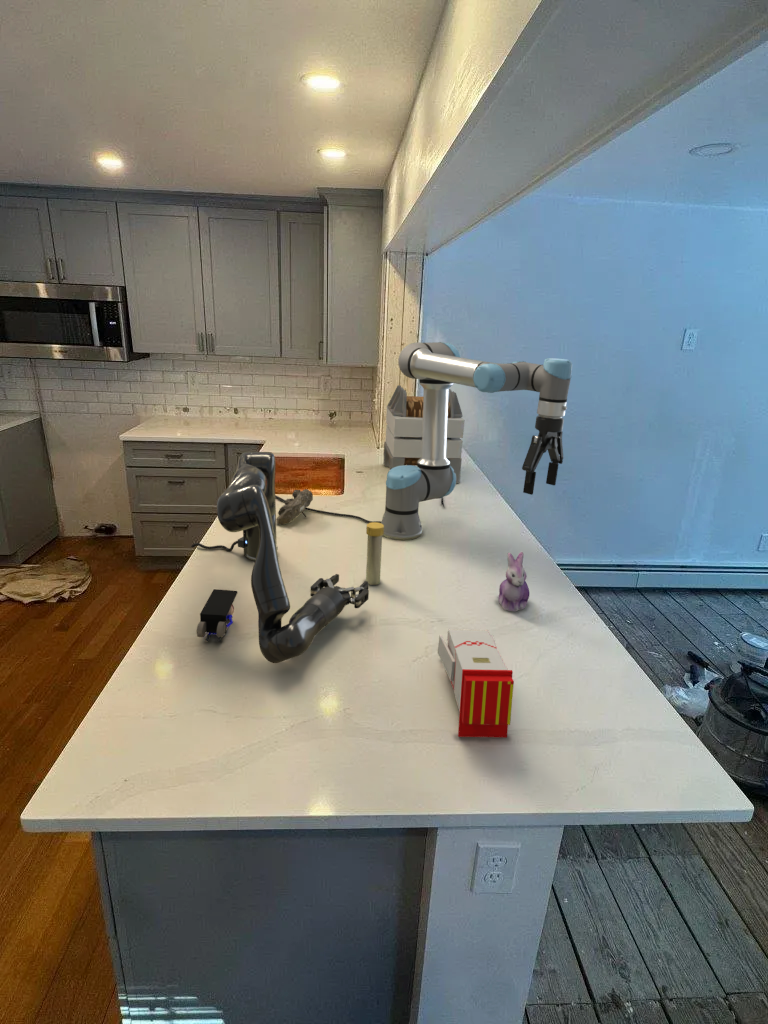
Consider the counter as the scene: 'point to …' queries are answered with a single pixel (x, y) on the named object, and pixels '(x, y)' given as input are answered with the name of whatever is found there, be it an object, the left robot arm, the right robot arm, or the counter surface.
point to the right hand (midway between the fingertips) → (539, 488)
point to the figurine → (514, 585)
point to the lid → (375, 529)
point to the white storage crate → (419, 431)
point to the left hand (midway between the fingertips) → (352, 580)
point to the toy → (478, 682)
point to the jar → (373, 560)
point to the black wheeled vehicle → (217, 614)
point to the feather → (442, 501)
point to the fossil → (294, 506)
